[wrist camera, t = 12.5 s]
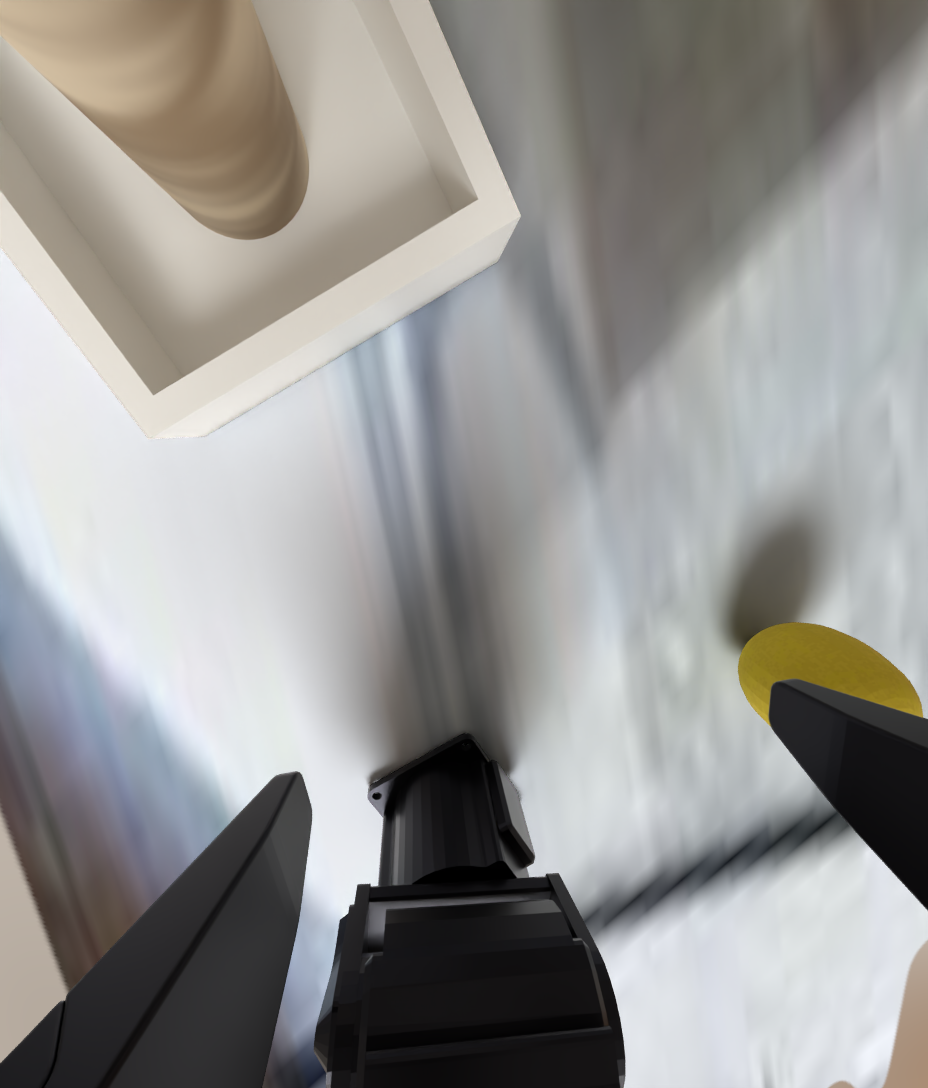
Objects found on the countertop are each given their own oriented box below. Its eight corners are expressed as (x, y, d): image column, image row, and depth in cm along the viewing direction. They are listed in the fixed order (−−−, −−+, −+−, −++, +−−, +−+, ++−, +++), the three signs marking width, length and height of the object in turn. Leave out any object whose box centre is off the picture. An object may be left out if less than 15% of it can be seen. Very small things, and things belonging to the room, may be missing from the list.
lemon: (688, 637, 23) (824, 742, 16) (777, 579, 23) (959, 656, 15) (729, 706, 25) (870, 831, 17) (812, 652, 24) (994, 755, 17)
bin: (205, 436, 18) (148, 439, 14) (-78, 49, 14) (-264, -94, 10) (497, 262, 17) (520, 215, 14) (290, -192, 13) (241, -437, 10)
